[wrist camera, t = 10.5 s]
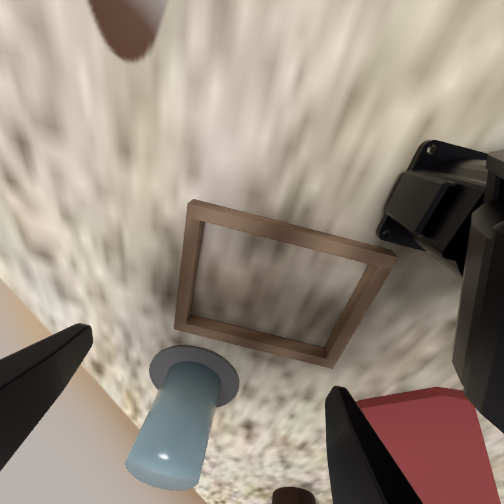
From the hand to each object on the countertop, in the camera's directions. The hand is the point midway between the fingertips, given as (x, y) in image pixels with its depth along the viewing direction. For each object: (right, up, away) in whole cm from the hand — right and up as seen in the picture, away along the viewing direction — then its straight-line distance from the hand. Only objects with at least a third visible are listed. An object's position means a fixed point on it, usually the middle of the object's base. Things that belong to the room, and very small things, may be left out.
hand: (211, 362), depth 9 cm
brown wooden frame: (+3, +1, +12) cm, 12 cm away
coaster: (-5, -10, +18) cm, 21 cm away
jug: (-5, -11, +18) cm, 22 cm away
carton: (+22, -21, +21) cm, 37 cm away
